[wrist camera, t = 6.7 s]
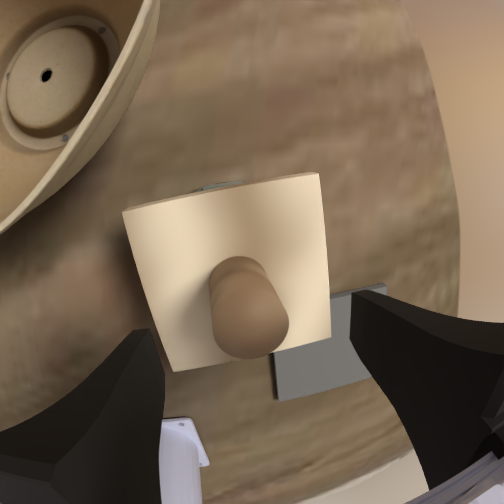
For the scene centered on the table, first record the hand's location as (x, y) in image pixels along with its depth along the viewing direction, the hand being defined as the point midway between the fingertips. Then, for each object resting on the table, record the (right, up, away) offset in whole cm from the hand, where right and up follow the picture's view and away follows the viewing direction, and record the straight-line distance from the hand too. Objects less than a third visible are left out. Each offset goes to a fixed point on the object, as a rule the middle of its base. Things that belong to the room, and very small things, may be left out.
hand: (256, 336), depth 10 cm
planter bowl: (-12, +14, +4) cm, 19 cm away
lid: (-1, +2, +5) cm, 6 cm away
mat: (+6, -4, +13) cm, 15 cm away
